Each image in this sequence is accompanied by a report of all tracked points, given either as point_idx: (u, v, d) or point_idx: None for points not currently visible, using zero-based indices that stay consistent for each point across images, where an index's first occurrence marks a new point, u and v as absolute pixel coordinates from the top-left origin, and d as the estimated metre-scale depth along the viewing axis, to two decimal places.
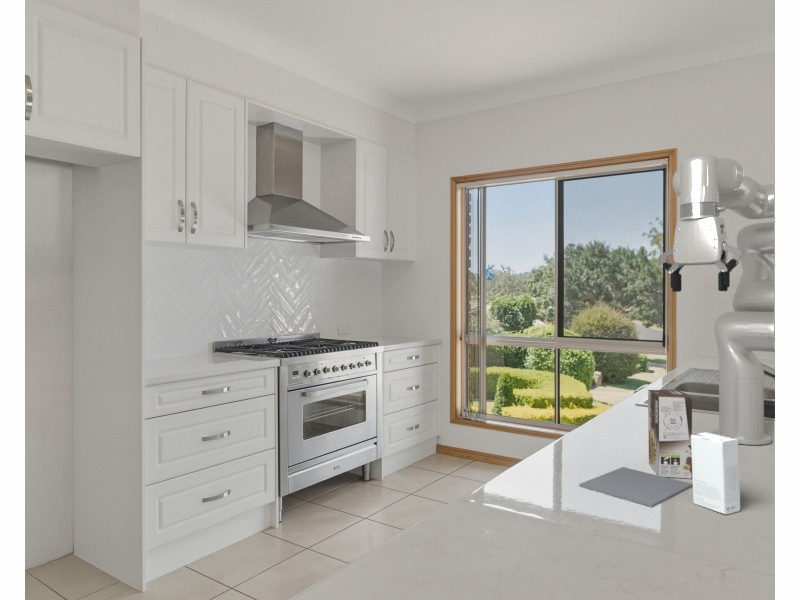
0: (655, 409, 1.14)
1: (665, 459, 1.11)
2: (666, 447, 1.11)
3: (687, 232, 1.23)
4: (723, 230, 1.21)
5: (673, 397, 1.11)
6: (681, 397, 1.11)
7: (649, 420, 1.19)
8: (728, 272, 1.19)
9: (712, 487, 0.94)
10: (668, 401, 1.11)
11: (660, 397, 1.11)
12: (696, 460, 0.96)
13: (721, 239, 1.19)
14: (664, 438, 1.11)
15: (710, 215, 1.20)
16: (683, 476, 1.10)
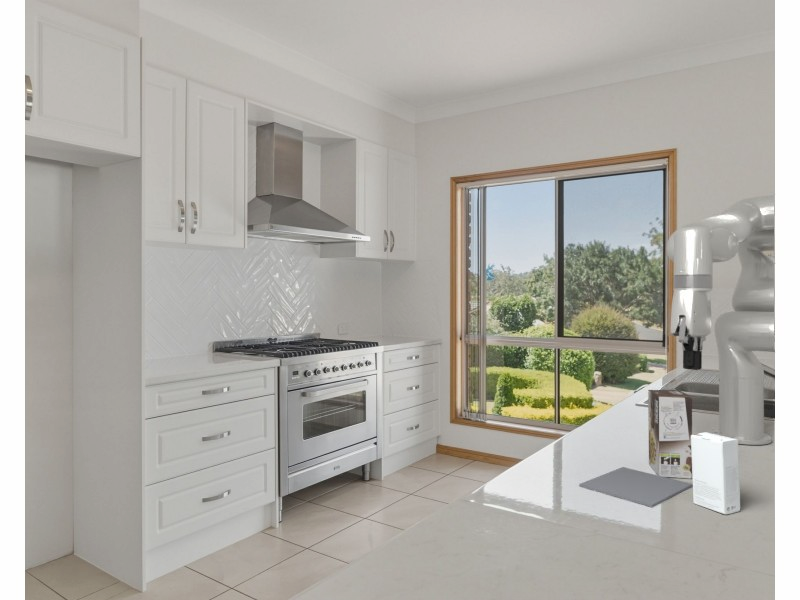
0: (655, 409, 1.14)
1: (665, 459, 1.11)
2: (666, 447, 1.11)
3: (702, 304, 1.19)
4: None
5: (673, 397, 1.11)
6: (681, 397, 1.11)
7: (649, 420, 1.19)
8: None
9: (712, 487, 0.94)
10: (668, 401, 1.11)
11: (660, 397, 1.11)
12: (696, 460, 0.96)
13: None
14: (664, 438, 1.11)
15: None
16: (683, 476, 1.10)
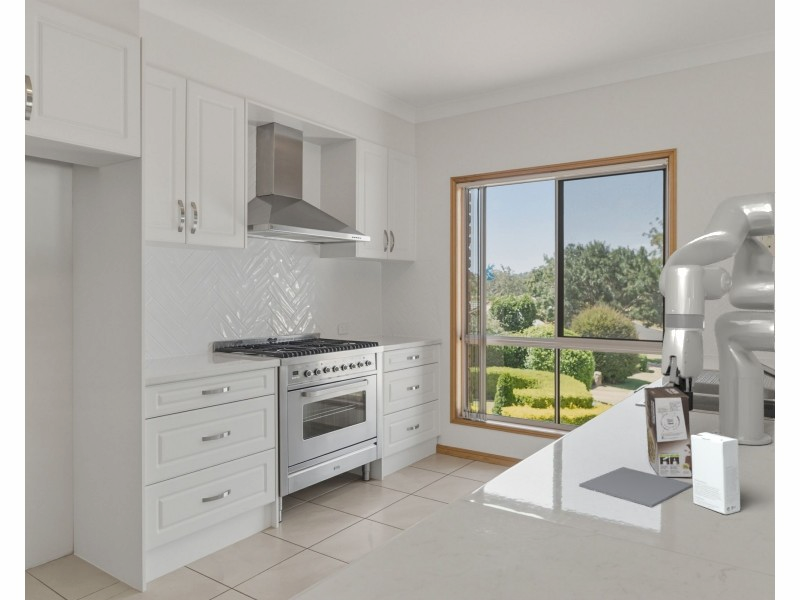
0: (652, 409, 1.13)
1: (664, 459, 1.11)
2: (665, 447, 1.11)
3: (693, 344, 1.17)
4: None
5: (669, 398, 1.10)
6: (677, 397, 1.10)
7: (647, 418, 1.18)
8: None
9: (712, 487, 0.94)
10: (664, 402, 1.10)
11: (656, 398, 1.10)
12: (696, 460, 0.96)
13: None
14: (662, 439, 1.11)
15: None
16: (683, 475, 1.10)
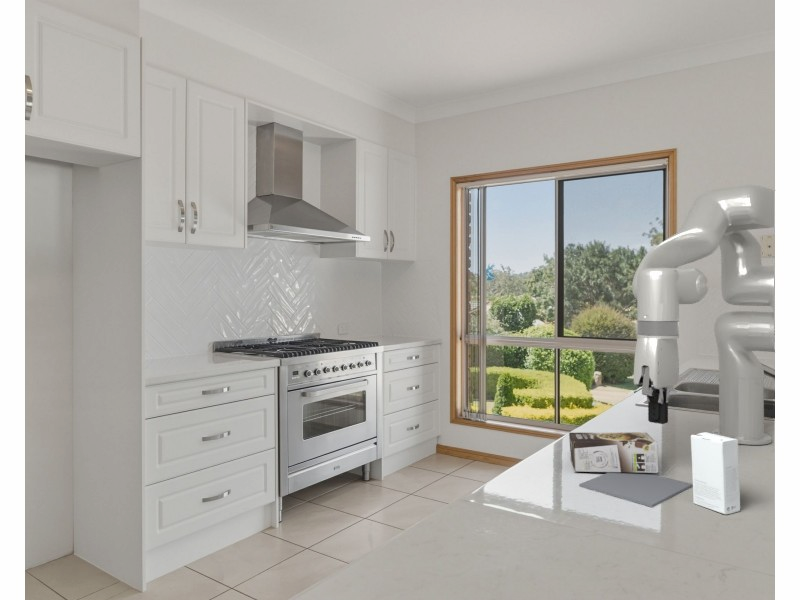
0: None
1: (639, 467, 1.12)
2: (626, 465, 1.12)
3: (667, 353, 1.09)
4: None
5: (574, 458, 1.14)
6: (574, 451, 1.14)
7: None
8: None
9: (712, 487, 0.94)
10: (579, 463, 1.14)
11: (575, 470, 1.14)
12: (696, 460, 0.96)
13: None
14: (617, 467, 1.13)
15: None
16: (655, 450, 1.11)
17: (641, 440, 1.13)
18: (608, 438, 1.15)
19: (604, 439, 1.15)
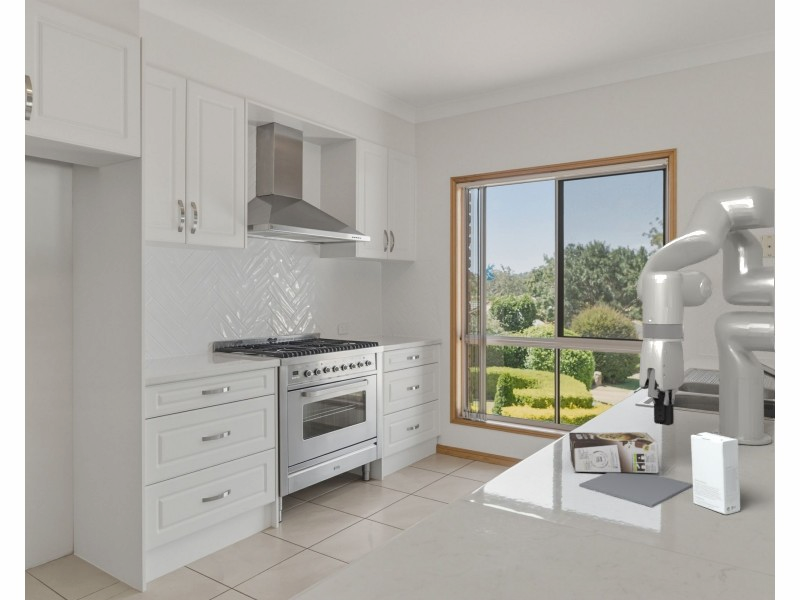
0: None
1: (639, 467, 1.12)
2: (626, 465, 1.12)
3: (672, 355, 1.10)
4: None
5: (574, 458, 1.14)
6: (574, 451, 1.14)
7: None
8: None
9: (712, 487, 0.94)
10: (579, 463, 1.14)
11: (575, 470, 1.14)
12: (696, 460, 0.96)
13: None
14: (617, 467, 1.13)
15: None
16: (655, 450, 1.11)
17: (641, 440, 1.13)
18: (608, 438, 1.15)
19: (604, 439, 1.15)
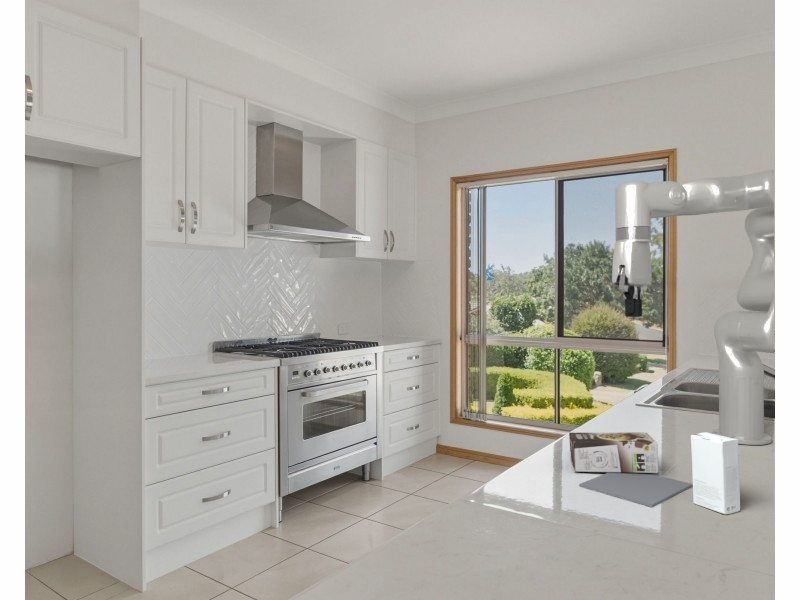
0: None
1: (639, 467, 1.12)
2: (626, 465, 1.12)
3: (640, 254, 1.26)
4: None
5: (574, 458, 1.14)
6: (574, 451, 1.14)
7: None
8: None
9: (712, 487, 0.94)
10: (579, 463, 1.14)
11: (575, 470, 1.14)
12: (696, 460, 0.96)
13: None
14: (617, 467, 1.13)
15: None
16: (655, 450, 1.11)
17: (641, 440, 1.13)
18: (608, 438, 1.15)
19: (604, 439, 1.15)
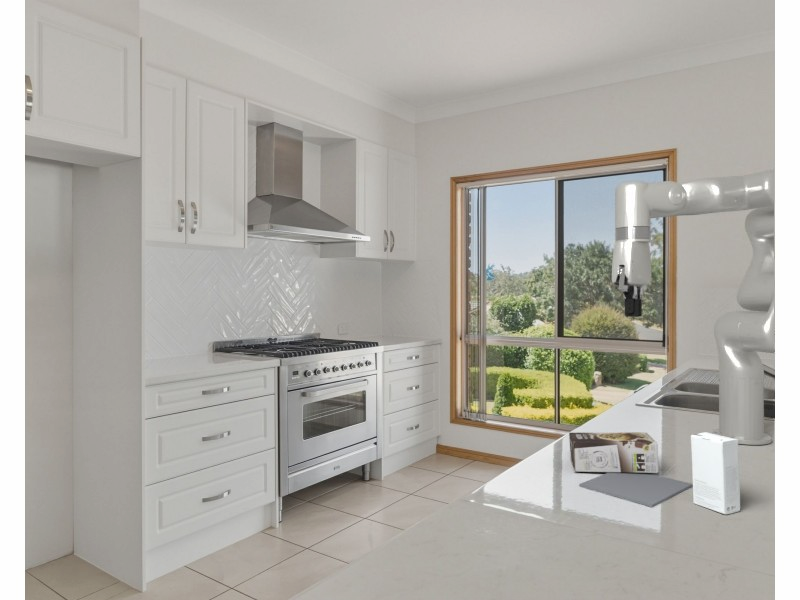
0: None
1: (639, 467, 1.12)
2: (626, 465, 1.12)
3: (640, 254, 1.26)
4: None
5: (574, 458, 1.14)
6: (574, 451, 1.14)
7: None
8: None
9: (712, 487, 0.94)
10: (579, 463, 1.14)
11: (575, 470, 1.14)
12: (696, 460, 0.96)
13: None
14: (617, 467, 1.13)
15: None
16: (655, 450, 1.11)
17: (641, 440, 1.13)
18: (608, 438, 1.15)
19: (604, 439, 1.15)
